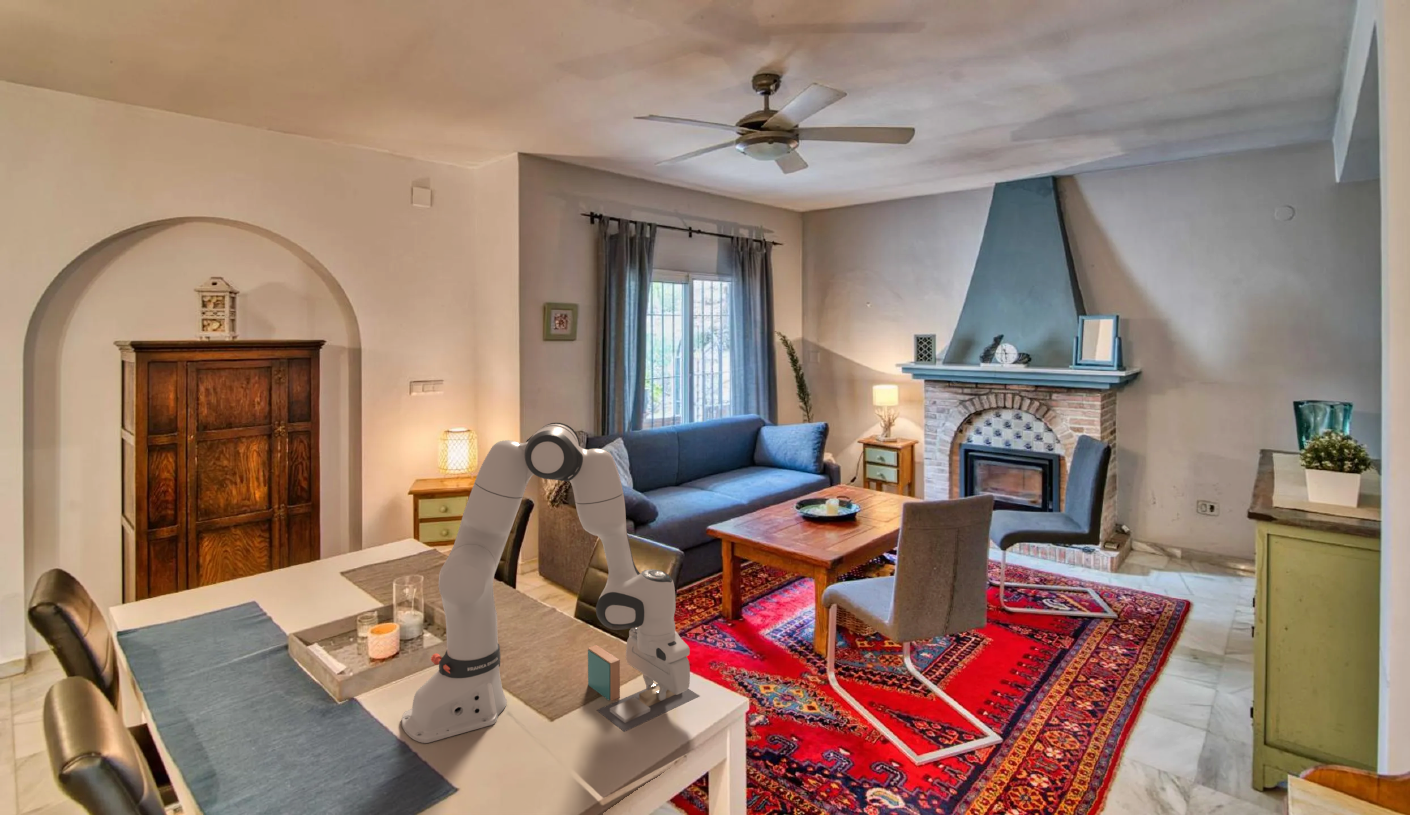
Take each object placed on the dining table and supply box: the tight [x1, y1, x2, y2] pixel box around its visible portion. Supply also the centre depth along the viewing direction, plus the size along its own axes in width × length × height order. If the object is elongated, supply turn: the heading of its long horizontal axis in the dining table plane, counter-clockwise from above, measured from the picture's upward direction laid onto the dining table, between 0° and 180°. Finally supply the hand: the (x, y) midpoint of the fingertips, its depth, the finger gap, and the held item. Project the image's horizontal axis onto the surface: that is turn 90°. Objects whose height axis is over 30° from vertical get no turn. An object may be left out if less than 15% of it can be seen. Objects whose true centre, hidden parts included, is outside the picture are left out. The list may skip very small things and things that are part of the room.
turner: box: [610, 686, 675, 723], centre depth 158 cm, size 18×6×2 cm, turn 132°
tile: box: [587, 644, 621, 702], centre depth 163 cm, size 3×10×10 cm, turn 42°
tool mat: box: [596, 683, 700, 732], centre depth 159 cm, size 22×11×1 cm, turn 132°
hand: (655, 695), depth 160 cm, fingers closed on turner, 2 cm apart
